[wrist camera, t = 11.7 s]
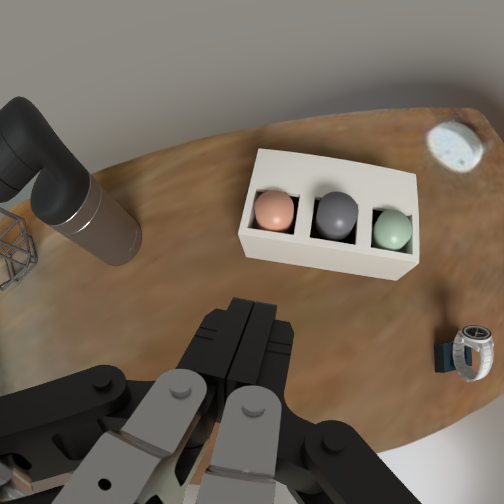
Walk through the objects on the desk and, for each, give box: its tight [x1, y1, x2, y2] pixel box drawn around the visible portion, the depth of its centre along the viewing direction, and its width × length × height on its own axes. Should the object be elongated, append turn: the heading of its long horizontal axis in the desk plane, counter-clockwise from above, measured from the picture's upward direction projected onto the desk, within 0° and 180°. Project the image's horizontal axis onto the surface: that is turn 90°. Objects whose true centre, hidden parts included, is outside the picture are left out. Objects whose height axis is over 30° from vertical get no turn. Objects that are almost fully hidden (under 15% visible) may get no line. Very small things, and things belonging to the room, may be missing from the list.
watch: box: [434, 325, 494, 382], centre depth 33 cm, size 6×8×11 cm
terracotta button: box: [255, 190, 294, 234], centre depth 40 cm, size 5×5×4 cm
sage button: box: [371, 210, 412, 252], centre depth 38 cm, size 5×5×4 cm
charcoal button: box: [315, 191, 359, 241], centre depth 37 cm, size 5×5×4 cm
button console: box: [238, 149, 419, 281], centre depth 43 cm, size 24×14×9 cm, turn 79°
